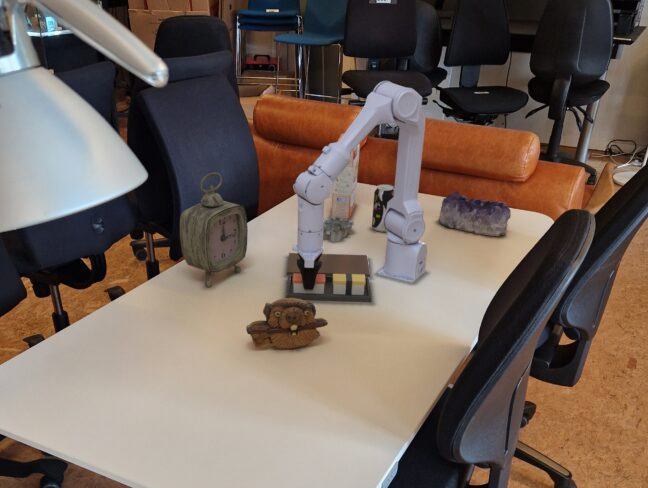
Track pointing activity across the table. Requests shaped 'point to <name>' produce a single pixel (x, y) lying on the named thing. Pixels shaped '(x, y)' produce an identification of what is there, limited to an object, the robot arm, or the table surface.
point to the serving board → (334, 264)
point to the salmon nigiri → (300, 289)
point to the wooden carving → (286, 324)
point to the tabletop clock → (213, 233)
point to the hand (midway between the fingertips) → (308, 284)
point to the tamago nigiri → (348, 284)
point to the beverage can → (381, 205)
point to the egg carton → (336, 228)
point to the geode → (474, 215)
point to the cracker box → (346, 187)
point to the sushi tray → (329, 293)
